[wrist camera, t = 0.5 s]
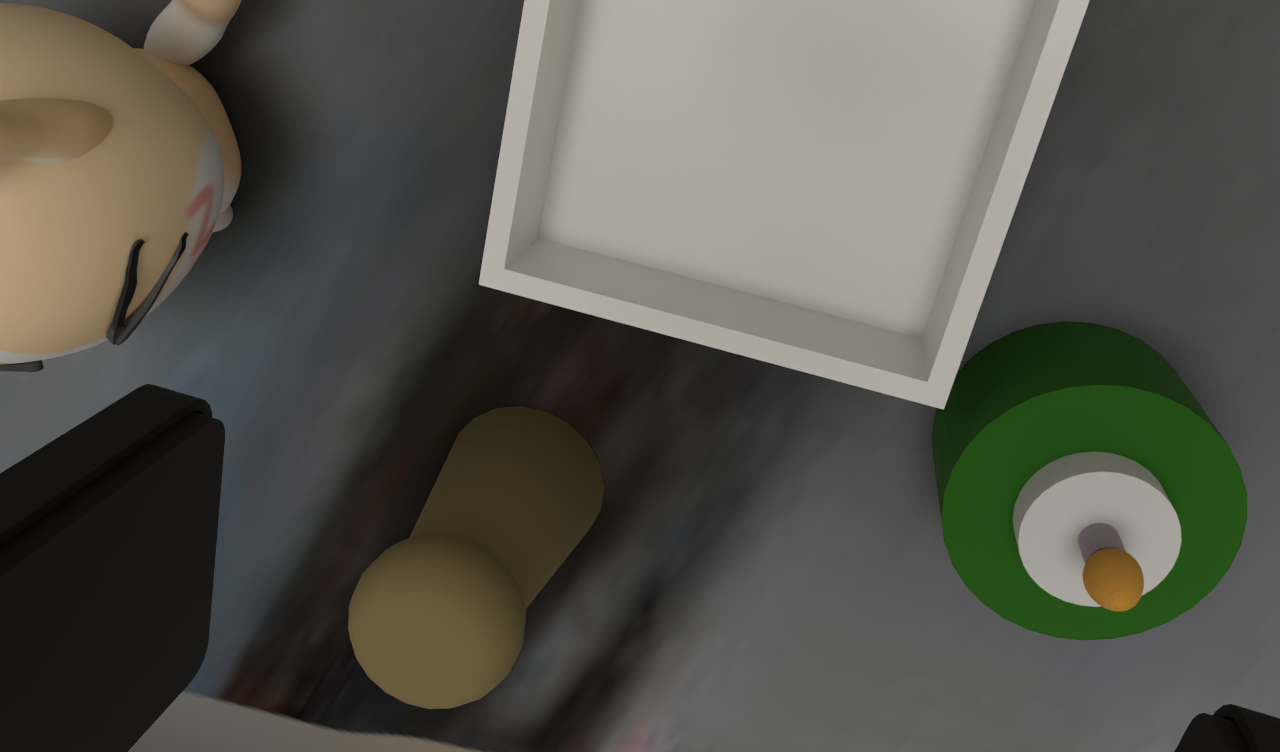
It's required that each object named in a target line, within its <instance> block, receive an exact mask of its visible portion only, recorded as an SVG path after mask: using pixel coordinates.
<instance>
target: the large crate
mask: <svg viewBox="0 0 1280 752" xmlns="http://www.w3.org/2000/svg"><path fill="white" fill-rule="evenodd" d="M1089 1H1090V0H524V6H523V12H522V19H521V25H520V31H519V37H518V43H517V50H516V56H515V62H514V68H513V74H512V81H511V87H510V93H509V99H508V105H507V112H506V118H505V124H504V130H503V136H502V143H501V149H500V155H499V161H498V167H497V174H496V180H495V186H494V192H493V198H492V205H491V211H490V217H489V223H488V229H487V236H486V242H485V248H484V254H483V260H482V267H481V273H480V279H479V285H482V286H486V287H490V288H493V289H497V290H501V291H504V292H508V293H512V294H516V295H519V296H523V297H527V298H530V299H534V300H538V301H542V302H545V303H549V304H553V305H557V306H560V307H564V308H568V309H571V310H575V311H579V312H583V313H586V314H590V315H594V316H597V317H601V318H605V319H609V320H612V321H616V322H620V323H623V324H627V325H631V326H635V327H638V328H642V329H646V330H649V331H653V332H657V333H661V334H664V335H668V336H672V337H675V338H679V339H683V340H687V341H690V342H694V343H698V344H702V345H705V346H709V347H713V348H716V349H720V350H724V351H728V352H731V353H735V354H739V355H742V356H746V357H750V358H754V359H757V360H761V361H765V362H768V363H772V364H776V365H780V366H783V367H787V368H791V369H794V370H798V371H802V372H806V373H809V374H813V375H817V376H821V377H824V378H828V379H832V380H835V381H839V382H843V383H847V384H850V385H854V386H858V387H861V388H865V389H869V390H873V391H876V392H880V393H884V394H887V395H891V396H895V397H899V398H902V399H906V400H910V401H913V402H917V403H921V404H925V405H928V406H932V407H936V408H939V409H943V410H944V408H945V405H946V402H947V399H948V396H949V394H950V391H951V388H952V385H953V382H954V380H955V377H956V374H957V371H958V368H959V366H960V363H961V360H962V357H963V354H964V352H965V349H966V346H967V343H968V340H969V338H970V335H971V332H972V329H973V326H974V323H975V321H976V318H977V315H978V312H979V309H980V307H981V304H982V301H983V298H984V295H985V293H986V290H987V287H988V284H989V281H990V279H991V276H992V273H993V270H994V267H995V265H996V262H997V259H998V256H999V253H1000V251H1001V248H1002V245H1003V242H1004V239H1005V236H1006V234H1007V231H1008V228H1009V225H1010V222H1011V220H1012V217H1013V214H1014V211H1015V208H1016V206H1017V203H1018V200H1019V197H1020V194H1021V192H1022V189H1023V186H1024V183H1025V180H1026V178H1027V175H1028V172H1029V169H1030V166H1031V163H1032V161H1033V158H1034V155H1035V152H1036V149H1037V147H1038V144H1039V141H1040V138H1041V135H1042V133H1043V130H1044V127H1045V124H1046V121H1047V119H1048V116H1049V113H1050V110H1051V107H1052V105H1053V102H1054V99H1055V96H1056V93H1057V91H1058V88H1059V85H1060V82H1061V79H1062V76H1063V74H1064V71H1065V68H1066V65H1067V62H1068V60H1069V57H1070V54H1071V51H1072V48H1073V46H1074V43H1075V40H1076V37H1077V34H1078V32H1079V29H1080V26H1081V23H1082V20H1083V18H1084V15H1085V12H1086V9H1087V6H1088V3H1089Z"/></svg>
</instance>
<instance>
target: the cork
mask: <svg viewBox="0 0 1280 752" xmlns="http://www.w3.org/2000/svg"><path fill="white" fill-rule="evenodd" d="M604 487H605V486H604V481H603V476H602V471H601V466H600V463H599V461H598V459H597V457H596V456H595V454H594V452H593V450H592V448H591V447H590V445H589V443H588V441H587V440H586V439H585V438H583V437H582V436H581V435H580V434H579V433H578V432H577V431H576V430H575V429H574V428H573V427H572V426H571V425H570V424H569V423H567V422H565V421H563V420H562V419H560V418H558V417H556V416H554V415H552V414H550V413H548V412H547V411H543V410H538V409H533V408H529V407H524V406H514V407H503V408H495V409H493V410H491V411H488V412H486V413H484V414H482V415H479V416H477V417H475V418H474V419H473V420H472V421H471V422H470V423H469V424H468V425H467V426H466V427H465V428H463V429H462V430H461V431H460V432H459V434H458V436H457V438H456V440H455V442H454V444H453V446H452V449H451V451H450V453H449V455H448V457H447V459H446V461H445V463H444V466H443V468H442V470H441V472H440V474H439V476H438V478H437V480H436V483H435V485H434V487H433V489H432V491H431V493H430V495H429V497H428V500H427V502H426V504H425V506H424V508H423V510H422V512H421V514H420V517H419V519H418V521H417V523H416V525H415V527H414V529H413V531H412V534H411V536H410V538H408V539H406V540H403V541H401V542H398V543H396V544H395V545H393V546H391V547H389V548H388V549H386V550H385V551H384V552H383V553H382V554H381V555H380V556H379V557H378V558H377V559H376V560H375V561H373V562H372V563H371V564H370V566H369V567H368V568H367V569H366V570H365V572H364V573H363V574H362V576H361V578H360V580H359V582H358V585H357V587H356V589H355V591H354V593H353V596H352V599H351V602H350V606H349V622H348V630H349V634H350V639H351V642H352V646H353V649H354V652H355V656H356V659H357V660H358V662H359V663H360V665H361V666H362V668H363V669H364V671H365V672H366V674H367V675H368V677H369V678H370V679H371V680H373V681H374V682H375V683H376V684H377V685H378V686H379V687H380V688H381V689H383V690H384V691H385V692H386V693H388V694H390V695H392V696H394V697H395V698H397V699H399V700H401V701H403V702H405V703H407V704H411V705H415V706H419V707H423V708H427V709H442V708H453V707H457V706H460V705H463V704H466V703H469V702H472V701H475V700H478V699H481V698H482V697H483V696H485V695H486V694H487V693H488V692H489V691H491V690H492V689H493V688H494V687H496V686H497V685H498V684H499V683H500V682H501V681H502V680H503V679H504V678H505V677H506V676H507V675H508V673H509V671H510V669H511V667H512V666H513V664H514V662H515V660H516V658H517V657H518V654H519V652H520V650H521V648H522V645H523V638H524V630H525V621H526V608H527V607H528V606H529V604H530V603H531V602H532V601H533V599H534V598H535V597H536V596H537V594H538V593H539V592H540V591H541V589H542V588H543V587H544V586H545V584H546V583H547V582H548V581H549V579H550V578H551V577H552V576H553V574H554V573H555V572H556V571H557V569H558V568H559V567H560V566H561V564H562V563H563V562H564V561H565V559H566V558H567V557H568V556H569V554H570V553H571V552H572V551H573V549H574V548H575V547H576V546H577V544H578V543H579V542H580V541H581V539H582V538H583V537H584V536H585V534H586V533H587V532H588V531H589V529H590V528H591V526H592V525H593V523H594V521H595V519H596V517H597V516H598V514H599V512H600V510H601V507H602V501H603V494H604Z"/></svg>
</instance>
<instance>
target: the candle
mask: <svg viewBox="0 0 1280 752" xmlns="http://www.w3.org/2000/svg"><path fill="white" fill-rule="evenodd" d="M932 447H933V456H934V464H935V472H936V480H937V488H938V496H939V503H940V511H941V519H942V527H943V535H944V542H945V545H946V547H947V550H948V553H949V556H950V559H951V562H952V564H953V566H954V568H955V569H956V571H957V572H958V574H959V576H960V577H961V579H962V580H963V582H964V584H965V585H966V586H967V587H968V588H969V589H970V590H971V591H972V593H973V594H974V595H975V596H976V597H977V598H978V599H979V600H980V601H981V602H982V603H983V604H984V605H986V606H987V607H989V608H990V609H992V610H993V611H994V612H996V613H997V614H999V615H1000V616H1001V617H1003V618H1004V619H1006V620H1009V621H1011V622H1013V623H1015V624H1017V625H1019V626H1021V627H1024V628H1026V629H1028V630H1031V631H1035V632H1038V633H1042V634H1045V635H1049V636H1053V637H1058V638H1067V639H1077V640H1098V639H1114V638H1118V637H1123V636H1128V635H1132V634H1137V633H1141V632H1144V631H1146V630H1149V629H1152V628H1154V627H1157V626H1159V625H1162V624H1165V623H1167V622H1169V621H1171V620H1172V619H1174V618H1176V617H1177V616H1179V615H1181V614H1182V613H1184V612H1186V611H1187V610H1189V609H1191V608H1192V607H1193V606H1195V605H1196V604H1197V603H1198V602H1199V601H1200V600H1201V599H1203V598H1204V597H1205V596H1206V595H1207V594H1208V593H1209V592H1211V591H1212V590H1213V589H1214V587H1215V586H1216V585H1217V584H1218V582H1219V581H1220V580H1221V578H1222V577H1223V576H1224V575H1225V573H1226V572H1227V571H1228V570H1229V568H1230V566H1231V564H1232V562H1233V560H1234V558H1235V556H1236V554H1237V552H1238V550H1239V548H1240V546H1241V543H1242V538H1243V534H1244V530H1245V525H1246V521H1247V493H1246V489H1245V485H1244V481H1243V477H1242V474H1241V470H1240V467H1239V465H1238V463H1237V461H1236V460H1235V458H1234V456H1233V454H1232V452H1231V450H1230V448H1229V447H1228V445H1227V443H1226V442H1225V440H1224V439H1223V438H1222V436H1221V435H1220V433H1219V432H1218V431H1217V429H1216V428H1215V426H1214V425H1213V423H1212V422H1211V421H1210V419H1209V418H1208V416H1207V415H1206V414H1205V412H1204V411H1203V409H1202V408H1201V406H1200V405H1199V404H1198V402H1197V401H1196V399H1195V398H1194V397H1193V395H1192V394H1191V392H1190V391H1189V389H1188V388H1187V387H1186V385H1185V384H1184V382H1183V381H1182V380H1181V378H1180V377H1179V375H1178V374H1177V373H1176V371H1175V370H1174V369H1173V368H1172V367H1171V366H1170V365H1169V364H1168V362H1167V361H1166V360H1165V359H1164V358H1163V357H1162V356H1161V355H1160V354H1159V353H1158V352H1156V351H1155V350H1153V349H1152V348H1151V347H1149V346H1148V345H1147V344H1145V343H1144V342H1143V341H1141V340H1139V339H1137V338H1135V337H1133V336H1130V335H1128V334H1126V333H1124V332H1122V331H1120V330H1117V329H1113V328H1109V327H1105V326H1101V325H1097V324H1093V323H1079V322H1058V323H1049V324H1041V325H1036V326H1033V327H1029V328H1026V329H1023V330H1019V331H1016V332H1013V333H1011V334H1009V335H1007V336H1005V337H1003V338H1001V339H999V340H997V341H995V342H993V343H991V344H989V345H988V346H987V347H985V348H984V349H983V350H981V351H980V352H979V353H977V354H976V355H975V356H973V357H972V358H971V359H970V360H969V361H968V362H967V363H966V364H965V365H964V366H963V367H962V368H961V370H960V371H959V372H958V373H957V374H956V377H955V380H954V382H953V385H952V388H951V391H950V394H949V396H948V399H947V402H946V405H945V408H944V410H943V409H939V408H938V409H937V412H936V415H935V418H934V425H933V434H932Z"/></svg>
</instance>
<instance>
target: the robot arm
mask: <svg viewBox="0 0 1280 752" xmlns="http://www.w3.org/2000/svg"><path fill="white" fill-rule="evenodd" d="M224 443H225V429H224V425H223V423H222V422H221V421H220V420H218V419H215V418H212V411H211V408H210V405H209V404H208V403H207V402H206V401H205V400H203V399H200V398H196V397H193V396H189V395H186V394H183V393H179V392H176V391H173V390H169V389H166V388H162V387H159V386H156V385H150V384H146V385H144V386H141V387H139V388H137V389H136V390H134V391H132V392H131V393H129V394H128V395H126V396H124V397H123V398H121V399H120V400H118V401H116V402H115V403H113V404H111V405H110V406H108V407H107V408H105V409H103V410H102V411H100V412H99V413H97V414H95V415H94V416H92V417H91V418H89V419H87V420H86V421H84V422H83V423H81V424H79V425H78V426H76V427H74V428H73V429H71V430H70V431H68V432H66V433H65V434H63V435H62V436H60V437H58V438H57V439H55V440H54V441H52V442H50V443H49V444H47V445H45V446H44V447H42V448H41V449H39V450H37V451H36V452H34V453H33V454H31V455H29V456H28V457H26V458H25V459H23V460H21V461H20V462H18V463H16V464H15V465H13V466H12V467H10V468H8V469H7V470H5V471H4V472H2V473H0V752H128V751H129V749H130V748H131V747H132V746H133V745H134V744H135V743H136V742H137V741H138V740H139V738H140V737H141V736H142V735H143V734H144V733H145V732H146V731H147V730H148V729H149V727H150V726H151V725H152V724H153V723H154V722H155V721H156V720H157V719H158V717H159V716H160V715H161V714H162V713H163V712H164V711H165V710H166V709H167V707H168V706H169V705H170V704H171V703H172V702H173V701H174V700H175V699H176V698H177V697H178V695H179V694H180V693H181V692H182V691H183V690H184V689H185V688H186V687H187V685H188V684H189V683H190V682H191V681H192V679H193V678H194V677H195V675H196V674H197V672H198V670H199V669H200V667H201V664H202V662H203V660H204V657H205V654H206V651H207V646H208V640H209V627H210V615H211V603H212V590H213V578H214V566H215V554H216V541H217V529H218V517H219V504H220V492H221V480H222V467H223V455H224ZM1175 752H1280V718H1276V717H1273V716H1269V715H1266V714H1263V713H1259V712H1256V711H1253V710H1249V709H1246V708H1242V707H1239V706H1236V705H1232V704H1229V705H1224V706H1222V707H1221V708H1220V709H1218V710H1217V711H1216V712H1215V713H1214V715H1209V714H1206V713H1202V714H1198V715H1197V716H1196V717H1195V718H1193V720H1192V721H1191V723H1190V724H1189V726H1188V728H1187V729H1186V731H1185V733H1184V735H1183V737H1182V739H1181V741H1180V743H1179V744H1178V746H1177V748H1176V750H1175Z"/></svg>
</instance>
